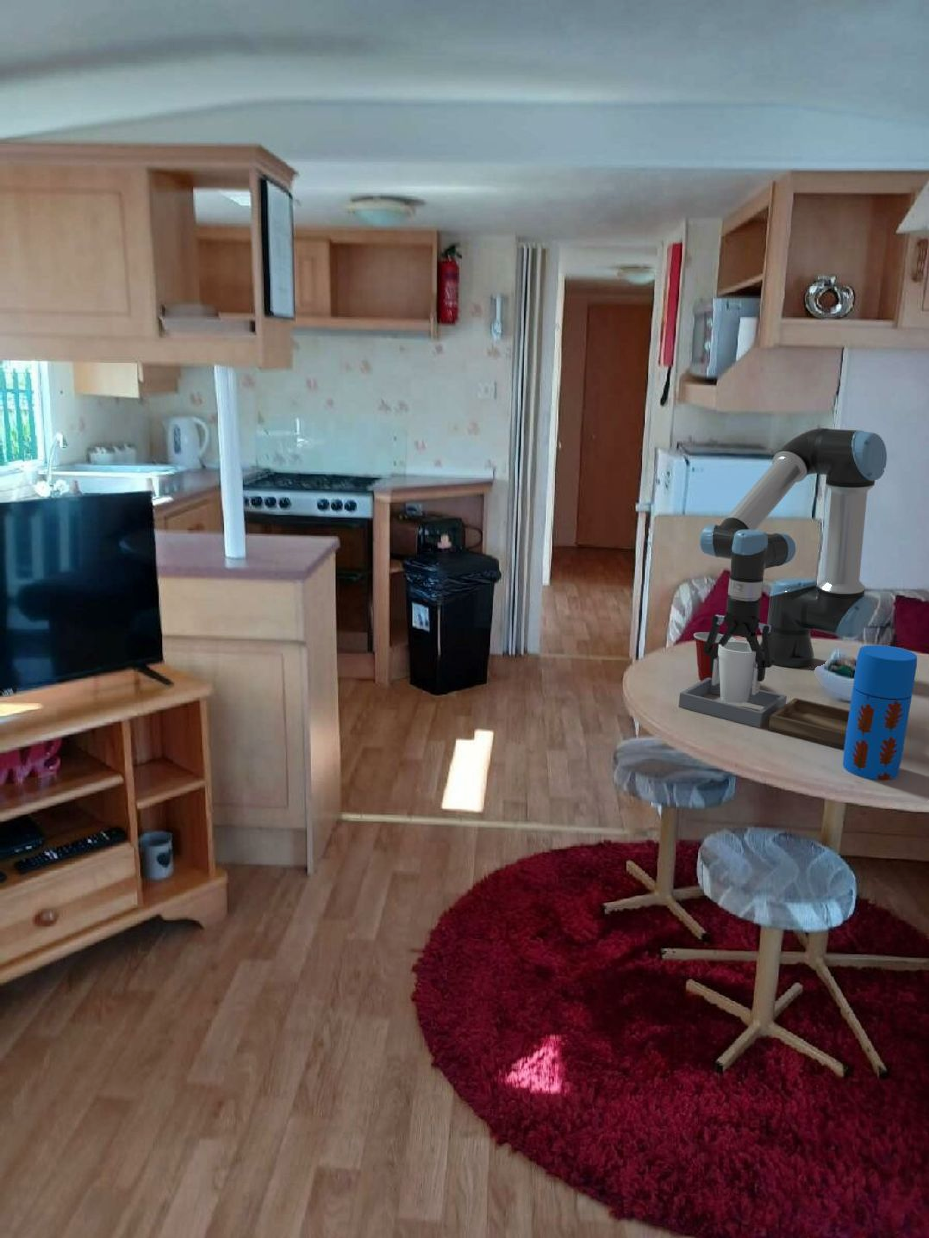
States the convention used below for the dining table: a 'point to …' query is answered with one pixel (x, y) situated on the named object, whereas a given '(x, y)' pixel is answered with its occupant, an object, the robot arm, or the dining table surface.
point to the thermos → (879, 711)
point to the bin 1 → (728, 711)
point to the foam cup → (736, 671)
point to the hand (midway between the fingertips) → (735, 688)
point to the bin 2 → (811, 722)
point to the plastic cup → (702, 658)
